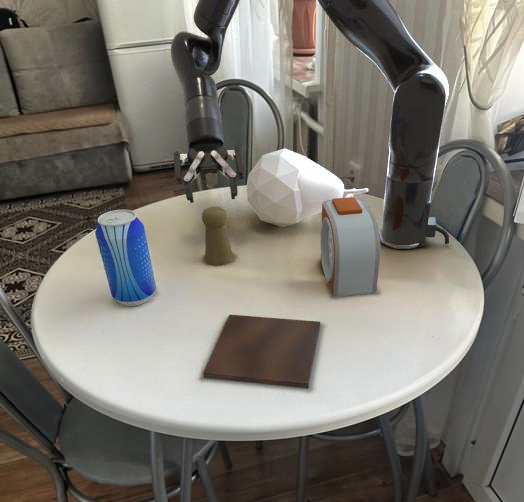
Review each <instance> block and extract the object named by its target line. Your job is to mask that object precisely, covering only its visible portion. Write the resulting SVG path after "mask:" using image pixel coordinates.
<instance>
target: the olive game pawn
mask: <svg viewBox="0 0 524 502" xmlns="http://www.w3.org/2000/svg"><path fill="white" fill-rule="evenodd" d="M228 217H229V216H228V213H227V210H226V209H225V208H223V207H221V206H209V207H207V208H205V209H204V210H203V211H202V212H201V220H202V223H203V225H204V226H205V227H204V228H205V232H204V261H205V263H207V264H209V265H213V266H222V265H227V264H229V263H231V262H232V261H233V260H234V254H233V251H232V246H231V241H230V238H229V237H230V236H229V233H228V228H227V222H228Z"/></svg>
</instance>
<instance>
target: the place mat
mask: <svg viewBox="0 0 524 502" xmlns="http://www.w3.org/2000/svg"><path fill="white" fill-rule="evenodd" d="M320 330H321V321H318V320H306V319H294V318H293V319H292V318H280V317H266V316H252V315H241V314H240V315H239V314H229V315H228V316H227V319H226V321H225V323H224V326H223V327H222V330H221V332H220V334H219V336H218V339H217V341H216V343H215V345H214V348H213V350H212V351H211V355H210V357H209V358H208V361H207V364H206V366H205V368H204V370H203V372H202V374H203V378H205V379H214V380H224V381H231V382H232V381H233V382H242V383H243V382H244V383H253V384H263V385H273V386H280V387H281V386H282V387H283V386H284V387H290V388H291V387H292V388H300V389H301V388H302V389H309V388H310V383H311V376H312V370H313V367H314V366H313V365H314V361H315V356H316V350H317V346H318V339H319V335H320Z"/></svg>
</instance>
